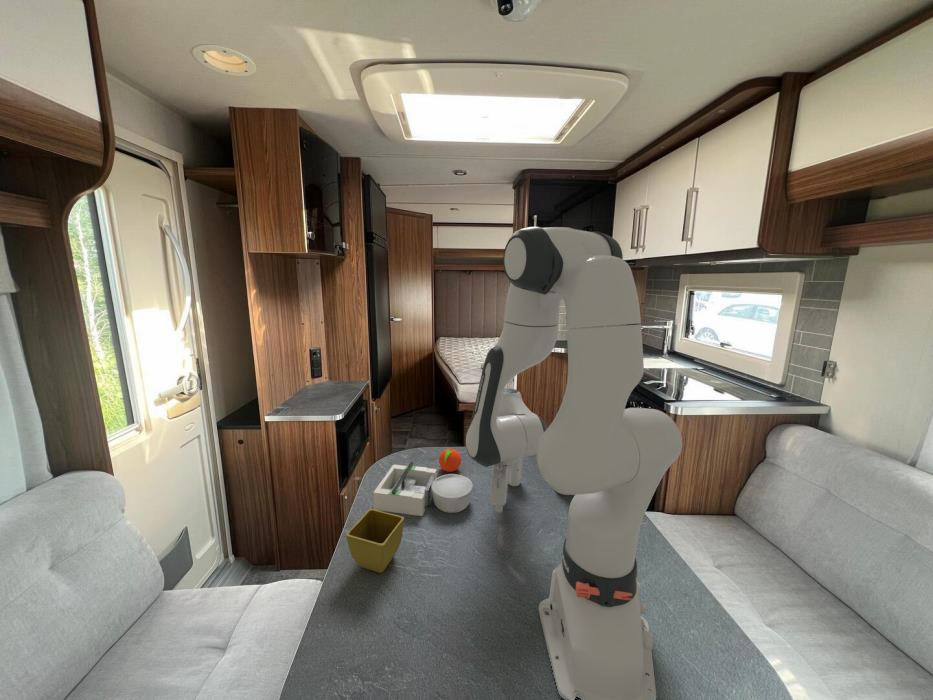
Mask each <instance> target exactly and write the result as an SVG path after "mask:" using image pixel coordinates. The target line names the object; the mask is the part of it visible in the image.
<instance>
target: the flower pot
mask: <svg viewBox="0 0 933 700" xmlns="http://www.w3.org/2000/svg"><path fill="white" fill-rule="evenodd" d="M404 521H405V517H404V516H401V515H398V514H395V513H391V512H387V511H380V510H374V508H369V509H368V510H367V511H366V512H365V513H364V514H363V516H362V517H361V518H360V519H359V520H358V521H357V522H356V523H355V524H354V525H353V526H352V527H351V528H350V530H349V531H348V532H347V533H346V535H345V536H346V542H347V545H348V548H349V549H348V550H349V552H350V555H351V557H352V559H353V561H355V563H357V564H358V566H360V567H361V568H364V569H367V570H369V571H372V572H375V573H379V574H380V573H383V572H385V570H386V568H387V567H388V565H389V564H390V562H391V561H392V559H394V557H395V555H396V553H397V551H398V549H399V548H400V544H401V542H402V539H403V531H404V523H405V522H404Z"/></svg>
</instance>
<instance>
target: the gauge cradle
mask: <svg viewBox="0 0 933 700" xmlns="http://www.w3.org/2000/svg"><path fill="white" fill-rule="evenodd" d="M408 465H409V464H407V465H402V464H392V465H391V467H390V468H389V470H387V473H386V474H385V476H384V477H383V478H382V480H381V481H380V483H379V484H378V485H377V487H376V488H375V490H373V493H372V494H373V495H372V496H373V509H374V510H378V511H382V512H386V513H394V514H395V513H396V514H403V515H411V516H418V517H423V515H424V513H425V511H426V509H425V507H426V506H425V499H424V494H421V493H415V492H410V491H402V490H397V491H396V492H395V494H392V493H391V492H392V490H393V487H394V486H395V484H396V482H397V481H398V479H399V478H400V477H401V476H402V475H403V473H404V472H405V470H406V468H407V467H408ZM432 475H433V476H435V479H436V478H438V477H437V469H436V468H428V467H426V466H416V465H415V466H414V465H412V467H411V468H410V470H409V472H408V473H407V475H406V476H405V478H412V479H417V486H424V487H426V486H427V484H428V482H429V480H430V478H431V476H432Z"/></svg>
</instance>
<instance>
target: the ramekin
mask: <svg viewBox="0 0 933 700" xmlns="http://www.w3.org/2000/svg"><path fill="white" fill-rule="evenodd" d="M473 489H474V485H473V482H472V480H471V479H470V478H469V477H466V476H464V475H461V474H456V473H455V474H454V473H450V474H449V473H448V474H444V475H441V476H438V477H437V478H436V479H435V480H434V481H433V483H432V485H431V491H432V493H433V497H432V499H433V503H434V506H436V508H437V509H438V510H439V511H442V512H444V513H448V514H453V513H459V512H462V511H464V510H465V509H466V508H467V507H469V505H470V502H471V497H472V493H473V491H474V490H473Z"/></svg>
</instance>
